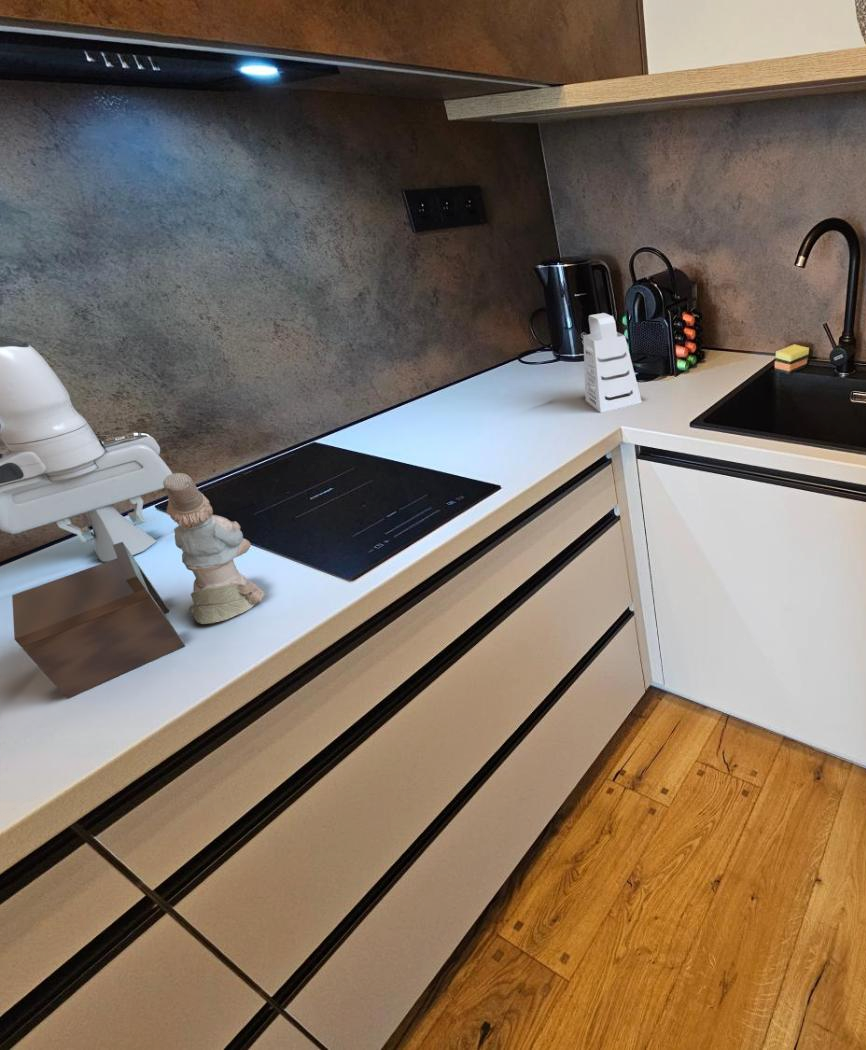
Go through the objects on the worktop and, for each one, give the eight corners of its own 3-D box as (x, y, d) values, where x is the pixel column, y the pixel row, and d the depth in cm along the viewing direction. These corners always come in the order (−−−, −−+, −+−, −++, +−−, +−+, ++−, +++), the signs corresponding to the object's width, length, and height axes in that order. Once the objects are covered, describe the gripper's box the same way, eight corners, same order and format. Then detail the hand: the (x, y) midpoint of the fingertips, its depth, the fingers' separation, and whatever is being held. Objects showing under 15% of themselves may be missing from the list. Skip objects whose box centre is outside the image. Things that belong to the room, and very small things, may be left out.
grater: (600, 412, 135) (586, 323, 125) (585, 400, 143) (571, 316, 133) (642, 402, 139) (631, 315, 129) (625, 391, 147) (614, 308, 137)
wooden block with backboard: (67, 699, 66) (2, 626, 60) (60, 651, 73) (1, 582, 68) (185, 646, 73) (136, 576, 67) (167, 607, 80) (122, 541, 74)
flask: (87, 561, 92) (46, 505, 87) (134, 536, 98) (99, 483, 93) (121, 565, 90) (81, 509, 85) (167, 539, 96) (133, 486, 91)
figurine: (261, 615, 77) (182, 480, 67) (187, 632, 75) (93, 495, 64) (279, 578, 84) (210, 451, 74) (211, 593, 82) (131, 464, 72)
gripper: (145, 423, 93) (190, 499, 100) (-40, 470, 81) (26, 552, 88) (152, 432, 89) (198, 510, 96) (-42, 482, 77) (28, 567, 84)
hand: (114, 531), depth 92 cm, fingers closed on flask, 5 cm apart
